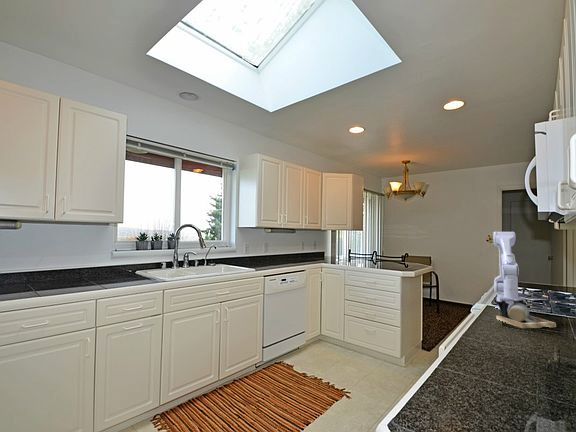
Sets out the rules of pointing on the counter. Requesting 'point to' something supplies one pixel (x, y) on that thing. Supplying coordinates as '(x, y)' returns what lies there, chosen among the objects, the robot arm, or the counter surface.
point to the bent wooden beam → (540, 323)
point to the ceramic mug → (520, 313)
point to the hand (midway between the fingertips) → (511, 316)
